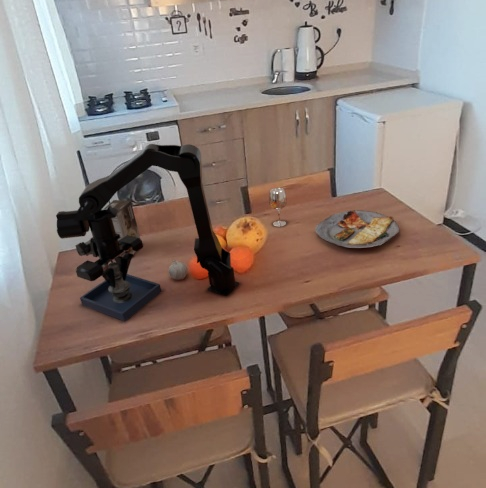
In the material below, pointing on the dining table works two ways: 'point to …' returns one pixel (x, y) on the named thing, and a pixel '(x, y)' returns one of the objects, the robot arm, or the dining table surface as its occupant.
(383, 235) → the food plate
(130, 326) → the dining table surface
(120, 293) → the grey tall tiered piece
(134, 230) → the coffee box
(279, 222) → the wineglass
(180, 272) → the garlic
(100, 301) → the tray
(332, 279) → the dining table surface
